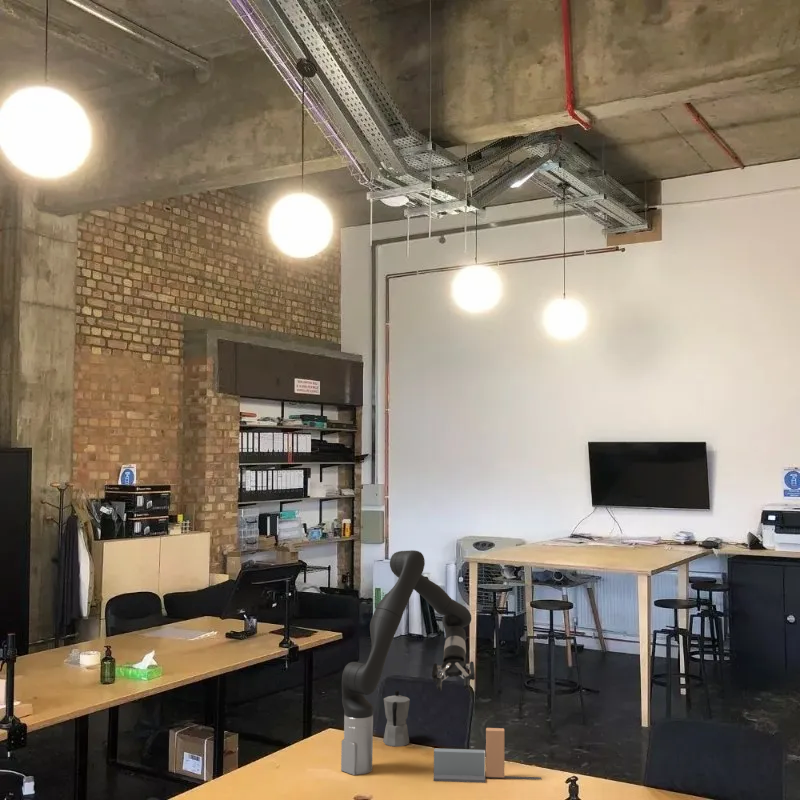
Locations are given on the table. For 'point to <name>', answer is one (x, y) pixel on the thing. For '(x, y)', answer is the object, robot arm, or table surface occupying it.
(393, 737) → the coffeepot
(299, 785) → the table surface
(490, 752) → the stub
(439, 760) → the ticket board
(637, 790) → the table surface
